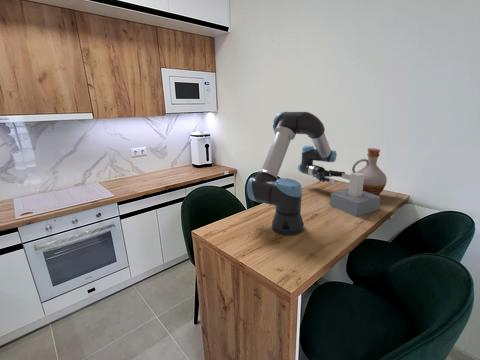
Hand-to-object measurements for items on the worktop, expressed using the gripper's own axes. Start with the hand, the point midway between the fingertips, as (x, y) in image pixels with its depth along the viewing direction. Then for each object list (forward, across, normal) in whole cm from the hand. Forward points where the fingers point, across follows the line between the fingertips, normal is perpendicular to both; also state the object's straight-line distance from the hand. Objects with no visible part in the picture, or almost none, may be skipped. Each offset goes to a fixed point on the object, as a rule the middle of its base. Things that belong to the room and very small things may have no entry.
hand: (342, 179), depth 145 cm
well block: (+9, 0, -14) cm, 17 cm away
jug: (+1, -21, -14) cm, 25 cm away
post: (+9, 0, -12) cm, 15 cm away
